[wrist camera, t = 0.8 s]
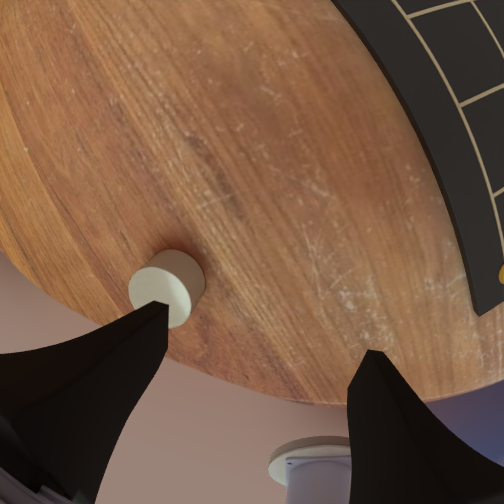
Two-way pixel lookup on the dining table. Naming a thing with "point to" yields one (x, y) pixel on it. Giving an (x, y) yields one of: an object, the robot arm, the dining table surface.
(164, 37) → the dining table surface
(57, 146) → the dining table surface
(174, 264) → the cylinder
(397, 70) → the board
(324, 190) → the dining table surface
